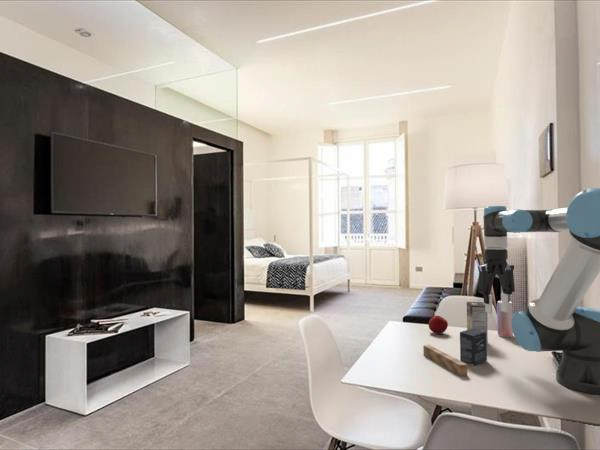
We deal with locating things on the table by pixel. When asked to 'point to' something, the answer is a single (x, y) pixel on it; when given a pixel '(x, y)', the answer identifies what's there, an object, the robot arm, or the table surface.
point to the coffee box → (477, 317)
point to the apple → (438, 324)
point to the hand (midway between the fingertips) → (496, 312)
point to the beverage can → (504, 321)
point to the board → (445, 360)
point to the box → (473, 346)
